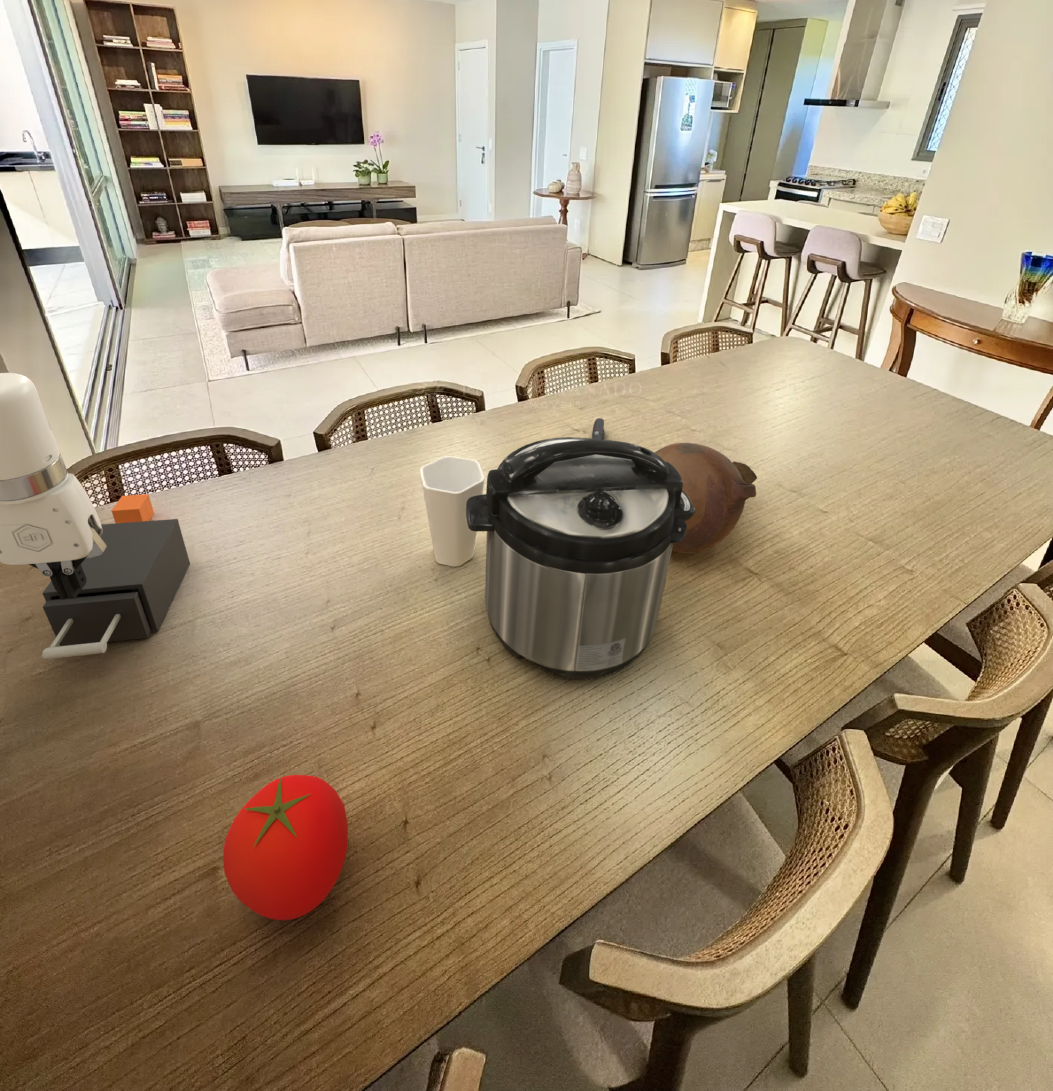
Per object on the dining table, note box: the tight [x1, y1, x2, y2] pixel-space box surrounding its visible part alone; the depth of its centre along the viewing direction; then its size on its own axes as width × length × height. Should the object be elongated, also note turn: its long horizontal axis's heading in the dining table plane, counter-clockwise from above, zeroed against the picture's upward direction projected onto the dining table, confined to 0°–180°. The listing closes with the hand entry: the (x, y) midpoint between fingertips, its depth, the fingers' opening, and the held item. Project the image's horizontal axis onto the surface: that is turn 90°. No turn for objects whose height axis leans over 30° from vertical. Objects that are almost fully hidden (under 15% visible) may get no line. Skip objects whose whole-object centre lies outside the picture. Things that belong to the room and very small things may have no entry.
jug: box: [653, 442, 758, 554], centre depth 111 cm, size 20×20×30 cm
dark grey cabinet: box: [42, 518, 191, 634], centre depth 91 cm, size 15×13×10 cm
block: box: [111, 493, 155, 524], centre depth 109 cm, size 4×4×4 cm
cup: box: [419, 455, 486, 568], centre depth 102 cm, size 11×10×17 cm
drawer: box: [41, 589, 151, 660], centre depth 86 cm, size 20×11×8 cm, turn 10°
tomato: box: [222, 774, 349, 921], centre depth 58 cm, size 11×11×13 cm
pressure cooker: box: [466, 436, 695, 681], centre depth 87 cm, size 30×28×32 cm
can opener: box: [591, 417, 606, 440], centre depth 138 cm, size 18×7×6 cm, turn 167°
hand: (73, 591), depth 78 cm, fingers closed
